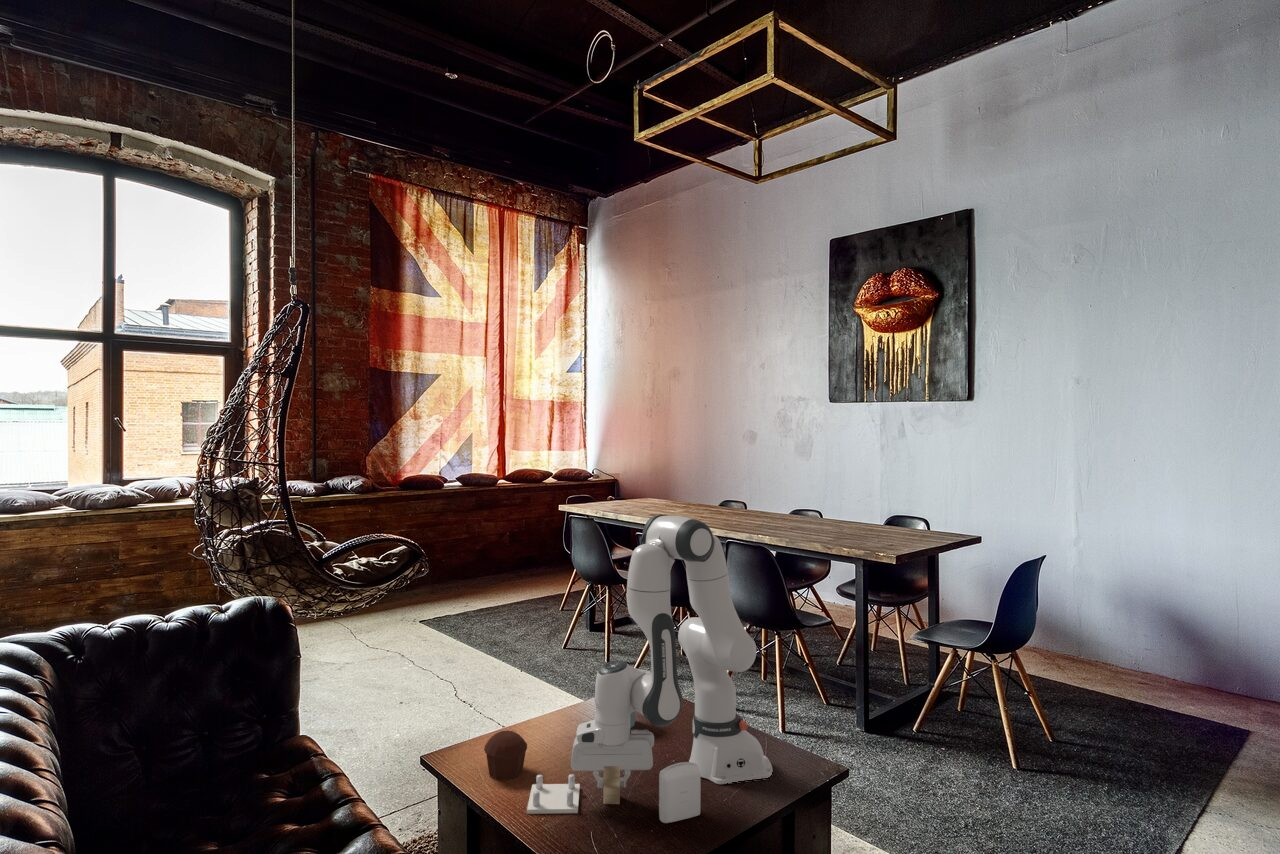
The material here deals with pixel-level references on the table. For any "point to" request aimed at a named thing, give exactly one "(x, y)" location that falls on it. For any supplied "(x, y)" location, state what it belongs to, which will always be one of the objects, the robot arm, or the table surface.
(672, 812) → the photo printer
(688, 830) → the table surface
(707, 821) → the table surface
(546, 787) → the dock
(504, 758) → the muffin
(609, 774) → the block
